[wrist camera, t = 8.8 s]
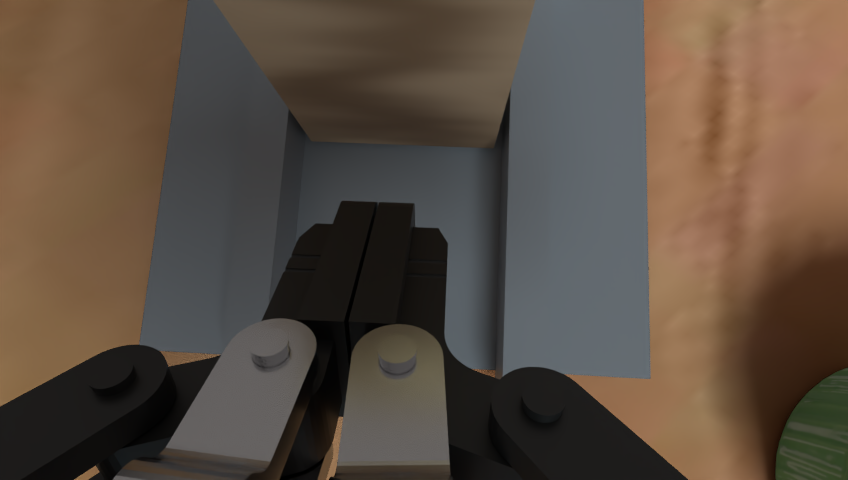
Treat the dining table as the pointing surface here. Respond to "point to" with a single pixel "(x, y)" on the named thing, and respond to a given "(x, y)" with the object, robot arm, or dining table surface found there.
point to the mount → (425, 199)
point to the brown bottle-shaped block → (388, 65)
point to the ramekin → (817, 434)
